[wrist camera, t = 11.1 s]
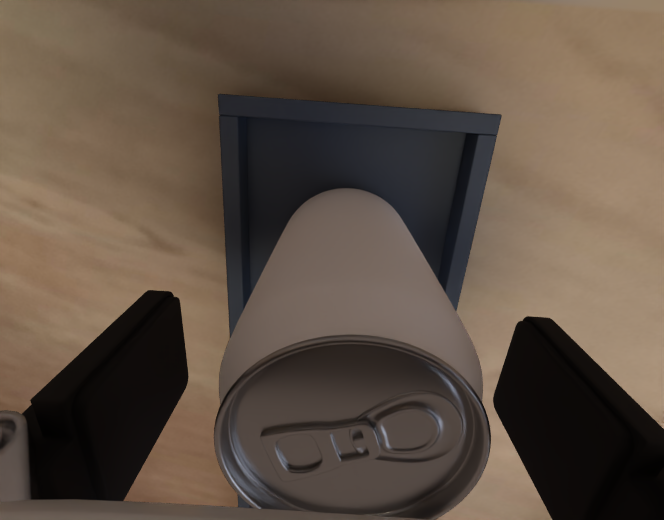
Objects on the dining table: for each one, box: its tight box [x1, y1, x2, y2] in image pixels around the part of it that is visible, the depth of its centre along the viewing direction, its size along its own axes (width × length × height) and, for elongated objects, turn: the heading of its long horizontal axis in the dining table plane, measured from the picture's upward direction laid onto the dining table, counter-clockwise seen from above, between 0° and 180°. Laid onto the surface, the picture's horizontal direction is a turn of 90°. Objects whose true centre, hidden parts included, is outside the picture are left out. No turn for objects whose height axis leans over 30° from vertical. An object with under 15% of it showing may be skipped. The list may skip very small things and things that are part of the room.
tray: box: [218, 94, 501, 508], centre depth 21 cm, size 32×12×2 cm, turn 176°
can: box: [214, 188, 491, 520], centre depth 13 cm, size 6×6×12 cm
